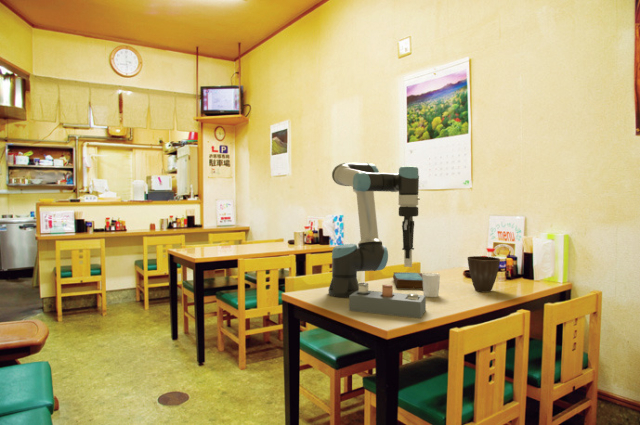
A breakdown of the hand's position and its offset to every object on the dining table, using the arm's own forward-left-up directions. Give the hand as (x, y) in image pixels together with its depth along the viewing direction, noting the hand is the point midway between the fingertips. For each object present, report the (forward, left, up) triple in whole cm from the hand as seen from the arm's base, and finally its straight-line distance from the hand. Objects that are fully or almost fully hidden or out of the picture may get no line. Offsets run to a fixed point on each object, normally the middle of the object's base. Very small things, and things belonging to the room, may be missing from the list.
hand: (408, 266), depth 157 cm
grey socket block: (-8, 0, -18) cm, 20 cm away
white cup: (+4, +34, -18) cm, 39 cm away
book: (-9, +57, -19) cm, 60 cm away
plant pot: (+26, +56, -18) cm, 64 cm away
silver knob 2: (+2, 0, -16) cm, 17 cm away
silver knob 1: (-18, 0, -14) cm, 23 cm away
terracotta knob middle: (-8, 0, -14) cm, 16 cm away
